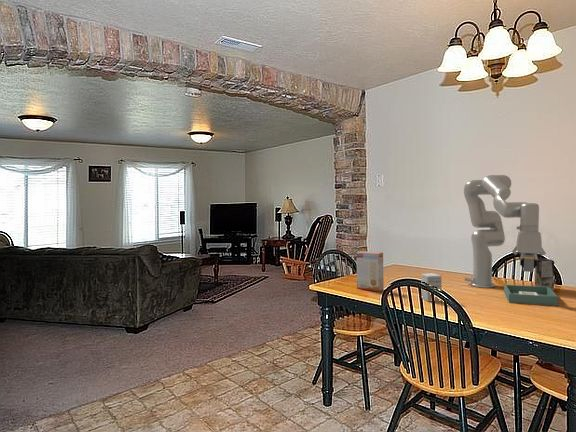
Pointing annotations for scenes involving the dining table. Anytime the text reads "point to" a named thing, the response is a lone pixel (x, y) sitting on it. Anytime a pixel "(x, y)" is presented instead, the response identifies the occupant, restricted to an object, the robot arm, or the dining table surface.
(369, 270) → the cracker box
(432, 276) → the supplement box
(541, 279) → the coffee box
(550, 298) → the walled box
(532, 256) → the connector
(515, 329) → the dining table surface
